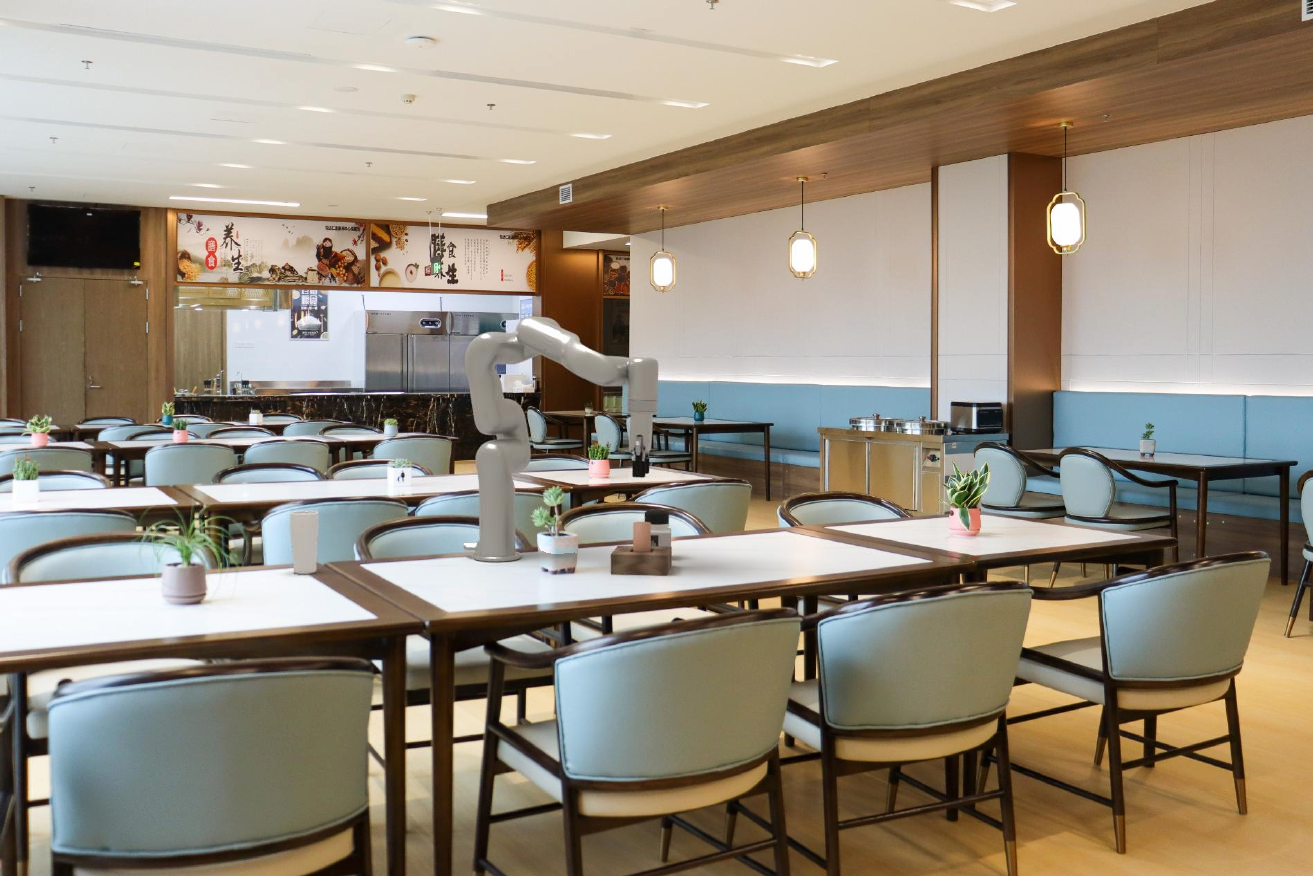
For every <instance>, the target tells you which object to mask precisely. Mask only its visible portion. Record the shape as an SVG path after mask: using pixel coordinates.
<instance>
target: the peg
mask: <svg viewBox="0 0 1313 876" xmlns="http://www.w3.org/2000/svg"><path fill="white" fill-rule="evenodd" d="M632 525H633V527H632V529H633V530H632V536H633V537H632V539H633V540H632V546H633V552H651V523H650V522H645V521H635V522H633V524H632Z"/></svg>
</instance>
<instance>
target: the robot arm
mask: <svg viewBox="0 0 1313 876" xmlns="http://www.w3.org/2000/svg"><path fill="white" fill-rule="evenodd" d="M539 355H540V356H543V357H545V358H547V359H549V360H551V361H553V362H556V363H558V364H560V365H562V366H563V367H564V368H565V369H566V370H568V371H570V372H571V373H573V374H574V375H576V376H577V377H580V378H581V379H585V380H587V381H589V382H590V383H592V384H595V385H597V386H602V387H625V386H627V408H626V409H627V411H626V413H628V414H630V421H629V437H628V438H629V439H628V440H629V443H628V452H629V453H630V454H631V453H633V457H632V458H633V459H632V471H631V472H632V473H631V474H632V478H640V479H641V478H642V479H643V478H646V474H649V473H650V460H651V459H650V451H651V450H652V440H653V420H654V419H653V415H655V414H658V397H659V393H658V392H659V362H658V360H657V359H656V358H652V357H633V358H631V357H626V356H616V355H615V356H614V355H605V354H602V353H600V352H597V351H595V350H593V349H590V348H589V347H587V346H585V345H584V344H582V343H581V340H580V337H579V336H578V335H577V334H576V333H574V332H571V331H568V330H566V329H565V328H562V327H561V325H560V324H559V323H558V322H557V321H556V320H554V319H552V318H550V317H544V316H534V315H533V316H527V317H524V318H522V319H521V320H520V321H519V322H518V323H517V325H516V327H515V331H514V332H502V331H487V332H484V333H481V334H479V335H478V336H476V337H474V338H473V340H471V341H470V343H469V344H468V346H467V348H466V350H465V355H464V367H465V371H466V377H467V381H468V387H469V392H470V393H469V394H470V400H471V405H472V412H473V419H474V425H475V426H476V429H477V430H478V431H479V433H481V434H483V435H488V436H496V439H493V440H488V441H486V442H484V443H483V444H481V445H480V447H479V448H478V450H477V451H476V454H475V467H476V473H477V479H478V500H479V501H478V503H479V505H478V506H479V507H478V510H479V511H478V512H479V515H478V517H479V518H478V519H479V520H478V521H479V522H478V523H479V524H478V525H479V528H478V529H479V531H478V532H479V533H478V535H479V536H478V537H479V540H478V541H476V542H464V543H463V550H464V551H475V553H473V559H474V560H476V561H480V562H494V563H495V562H496V563H497V562H510V561H512V562H513V561H517V560H520V559H521V558H522V553H521V552H519V551H516V489H515V487H516V485H515V482H514V480H513V479H514V478H513V476H512V474H517V473H520V472H522V471H525V470H526V469H527V467H528V466H529V464H530V462H531V456H532V455H531V453H532V452H531V451H532V450H531V444H530V440H529V439H530V438H529V431H528V426H527V421H526V420H527V419H526V416H525V413H524V410H523V408H522V406H521V405H520V404H519V403H518V402H517V401H515V400H513V399H509V398H505V395H504V393H503V392H504V391H503V384H502V381H501V378H500V375H499V373H498V371H497V369H496V366H497V365H516V364H520V363H523V362H525V361H528V360H530V359H532V358H536V357H537V356H539Z"/></svg>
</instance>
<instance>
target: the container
mask: <svg viewBox="0 0 1313 876" xmlns="http://www.w3.org/2000/svg"><path fill="white" fill-rule="evenodd" d="M644 522H650V523H651V546H660V547H672V528H671V527H670V512H669V511H667V510H666V509H658V508H657V509H648V510H646V511H644Z"/></svg>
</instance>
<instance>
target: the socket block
mask: <svg viewBox="0 0 1313 876" xmlns="http://www.w3.org/2000/svg"><path fill="white" fill-rule="evenodd" d="M672 547H673V546H671V547H660V546H651V552H633V545H617V546H616V547H615V548H614V550H613V551H612V553H610V575H616V576H617V575H621V576H624V575H625V576H626V575H627V576H629V575H630V576H668V574H669V573H670V570H671V568H672V564H673V563H672V560H673V558H672V557H673V555H672V554H673V553H672V551H673V549H672Z"/></svg>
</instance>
